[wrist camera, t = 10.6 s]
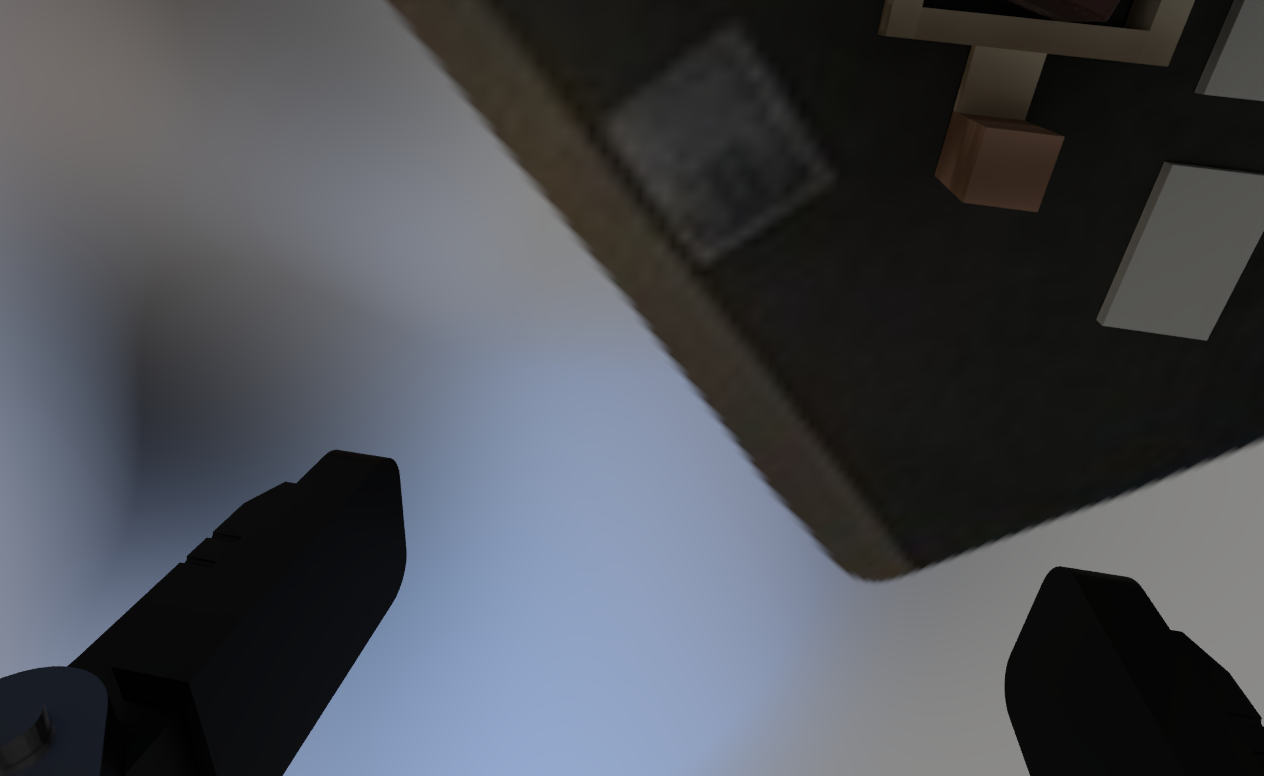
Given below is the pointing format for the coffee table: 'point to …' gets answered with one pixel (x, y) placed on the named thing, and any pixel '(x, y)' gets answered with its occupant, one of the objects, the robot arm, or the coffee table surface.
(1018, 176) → the wooden open tray
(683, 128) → the coffee table surface
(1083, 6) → the box
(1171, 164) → the pair of grey tiles
